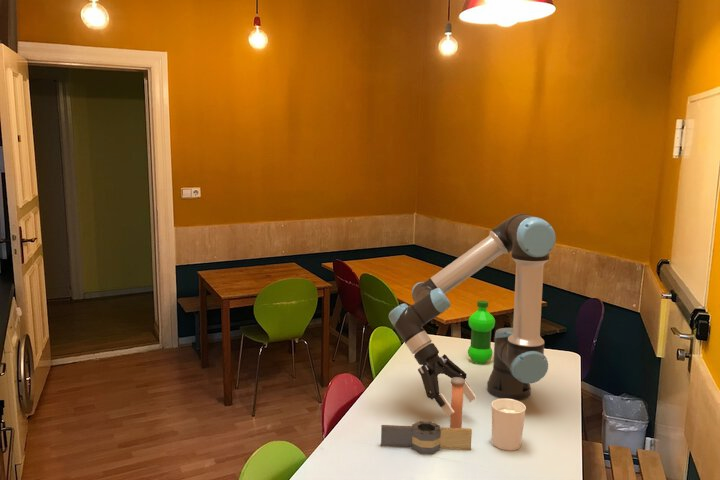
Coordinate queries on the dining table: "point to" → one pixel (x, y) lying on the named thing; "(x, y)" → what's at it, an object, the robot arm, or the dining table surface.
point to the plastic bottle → (481, 334)
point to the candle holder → (507, 423)
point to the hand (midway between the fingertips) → (462, 407)
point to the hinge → (426, 437)
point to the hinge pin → (457, 402)
